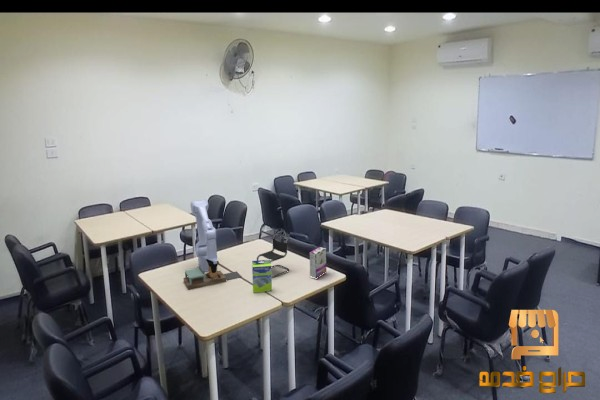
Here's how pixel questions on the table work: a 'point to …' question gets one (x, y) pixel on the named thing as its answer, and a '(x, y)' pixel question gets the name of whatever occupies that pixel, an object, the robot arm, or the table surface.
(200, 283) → the brown flat rectangular frame
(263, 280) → the box
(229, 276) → the rubber mat
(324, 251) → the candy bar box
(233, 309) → the table surface
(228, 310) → the table surface
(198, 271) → the sliding cover
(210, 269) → the terracotta block
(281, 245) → the chair
